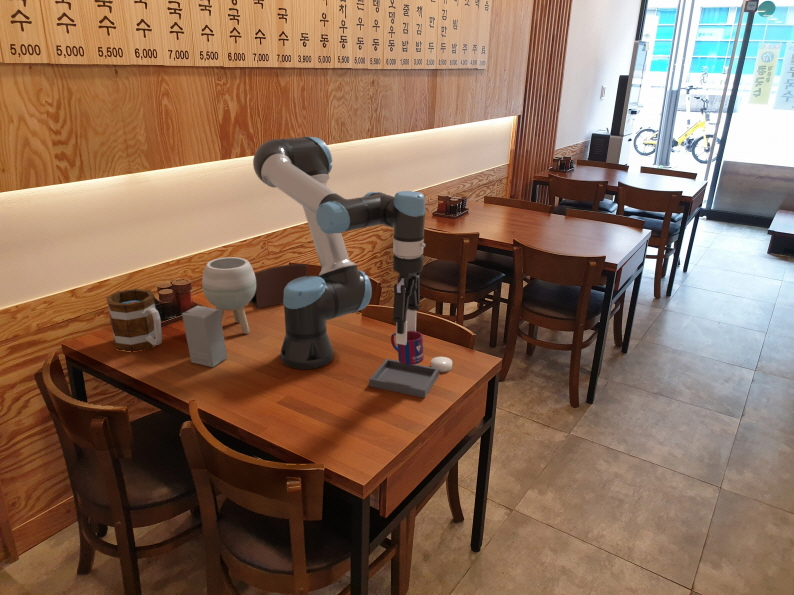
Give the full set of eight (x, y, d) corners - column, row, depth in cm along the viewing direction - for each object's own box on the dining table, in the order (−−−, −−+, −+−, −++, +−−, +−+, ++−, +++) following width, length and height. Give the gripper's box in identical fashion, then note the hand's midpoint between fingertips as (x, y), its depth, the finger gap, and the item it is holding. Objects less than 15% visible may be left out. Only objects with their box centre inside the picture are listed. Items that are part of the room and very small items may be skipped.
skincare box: (227, 359, 168) (222, 308, 162) (210, 369, 162) (204, 317, 156) (205, 353, 171) (199, 303, 165) (187, 363, 165) (180, 311, 159)
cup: (410, 367, 151) (408, 343, 148) (385, 356, 158) (383, 333, 156) (428, 359, 155) (427, 335, 152) (404, 348, 162) (402, 325, 160)
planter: (242, 315, 197) (236, 252, 189) (269, 329, 187) (264, 263, 179) (198, 328, 186) (190, 262, 178) (224, 345, 176) (217, 275, 168)
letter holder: (308, 298, 213) (307, 262, 208) (257, 309, 202) (254, 271, 197) (297, 290, 221) (295, 254, 215) (246, 300, 210) (243, 263, 205)
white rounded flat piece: (428, 370, 164) (428, 364, 164) (434, 361, 170) (434, 355, 169) (448, 374, 162) (449, 368, 162) (454, 365, 168) (454, 358, 167)
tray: (369, 386, 155) (369, 379, 154) (386, 365, 166) (386, 358, 165) (424, 398, 150) (425, 390, 149) (438, 375, 161) (439, 368, 160)
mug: (104, 344, 175) (95, 298, 170) (145, 329, 185) (138, 285, 180) (141, 363, 165) (134, 314, 159) (183, 346, 175) (177, 300, 169)
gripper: (409, 268, 135) (407, 356, 144) (434, 246, 152) (430, 326, 161) (379, 264, 138) (378, 351, 146) (407, 242, 155) (405, 321, 163)
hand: (406, 337), depth 153 cm, fingers closed on cup, 7 cm apart
